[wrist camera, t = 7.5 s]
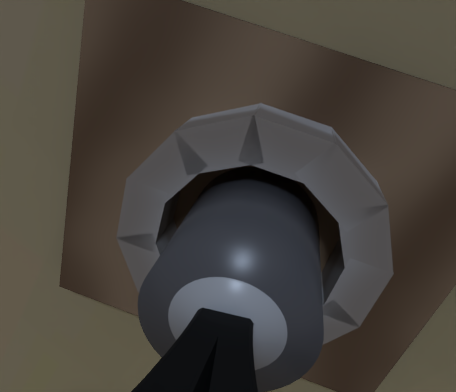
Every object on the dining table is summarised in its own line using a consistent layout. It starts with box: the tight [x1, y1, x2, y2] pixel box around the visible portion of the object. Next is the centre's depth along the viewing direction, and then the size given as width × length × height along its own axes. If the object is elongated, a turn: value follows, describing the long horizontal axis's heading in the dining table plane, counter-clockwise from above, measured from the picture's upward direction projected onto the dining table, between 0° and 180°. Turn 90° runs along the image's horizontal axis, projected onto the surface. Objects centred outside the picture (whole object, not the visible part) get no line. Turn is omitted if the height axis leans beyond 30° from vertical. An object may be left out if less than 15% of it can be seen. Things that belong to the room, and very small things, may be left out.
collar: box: [60, 0, 456, 392], centre depth 14 cm, size 16×14×3 cm
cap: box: [138, 167, 324, 392], centre depth 12 cm, size 5×5×6 cm
